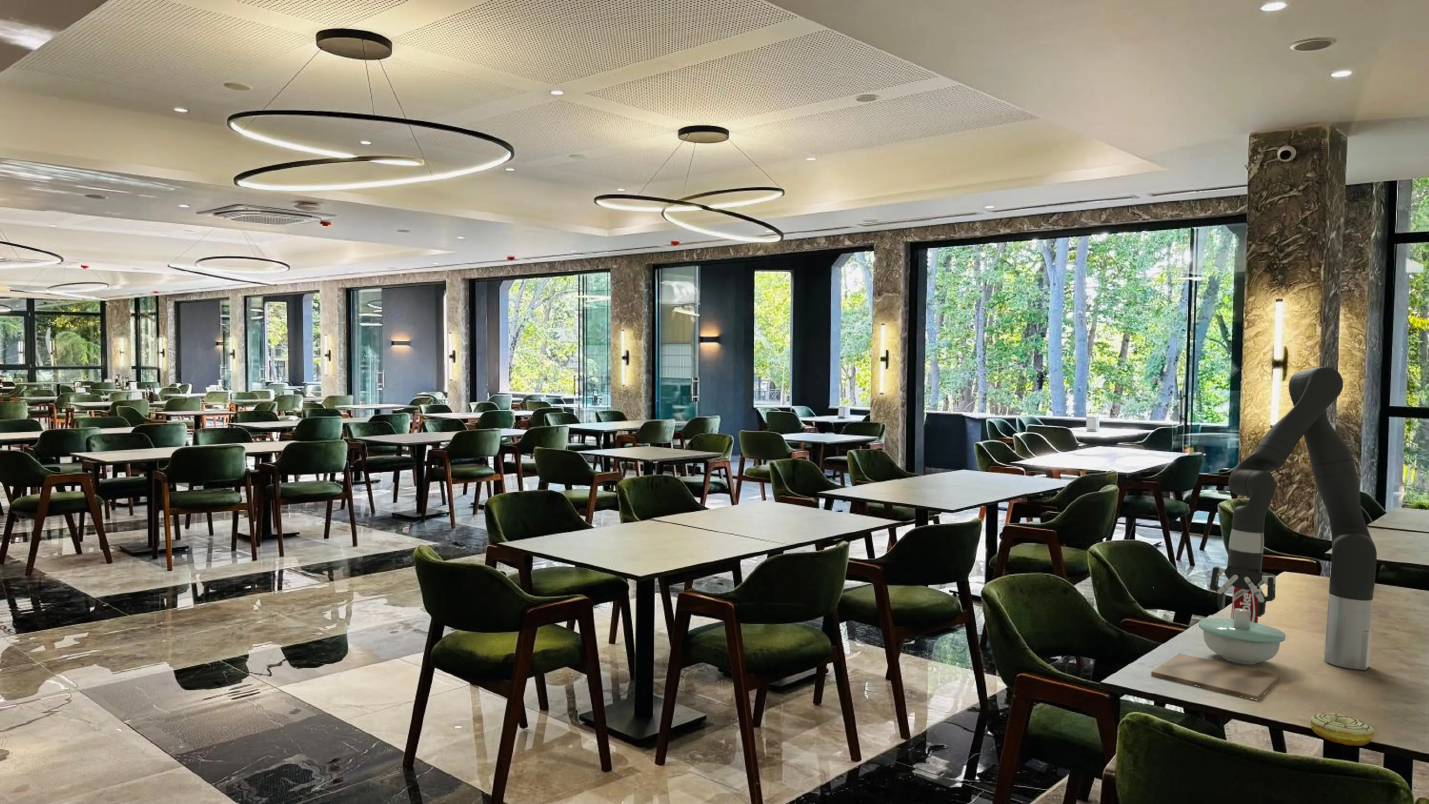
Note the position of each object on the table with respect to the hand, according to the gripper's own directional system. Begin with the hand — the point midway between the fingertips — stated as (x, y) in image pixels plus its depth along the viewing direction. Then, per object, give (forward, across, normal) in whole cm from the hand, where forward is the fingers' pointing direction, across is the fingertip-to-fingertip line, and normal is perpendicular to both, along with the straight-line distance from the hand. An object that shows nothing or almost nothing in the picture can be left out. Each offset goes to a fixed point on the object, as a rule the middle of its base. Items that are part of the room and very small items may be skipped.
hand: (1240, 612), depth 241 cm
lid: (+5, -1, +1) cm, 5 cm away
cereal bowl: (+12, -1, +1) cm, 12 cm away
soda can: (+12, +8, -40) cm, 43 cm away
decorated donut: (+12, -30, +44) cm, 54 cm away
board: (+12, -1, +22) cm, 25 cm away
